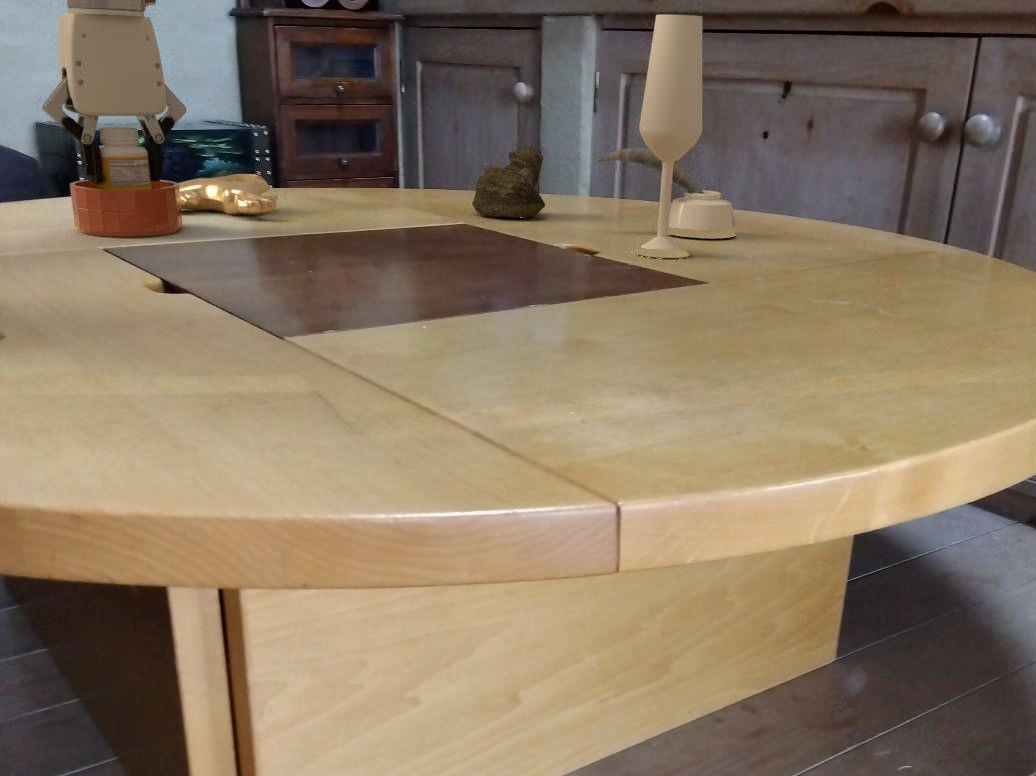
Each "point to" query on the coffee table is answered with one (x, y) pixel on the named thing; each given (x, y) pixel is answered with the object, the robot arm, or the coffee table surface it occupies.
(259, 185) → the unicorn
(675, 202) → the inkwell
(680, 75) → the champagne flute
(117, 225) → the bowl
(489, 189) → the brown irregular lump
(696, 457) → the coffee table surface
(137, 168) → the supplement bottle
